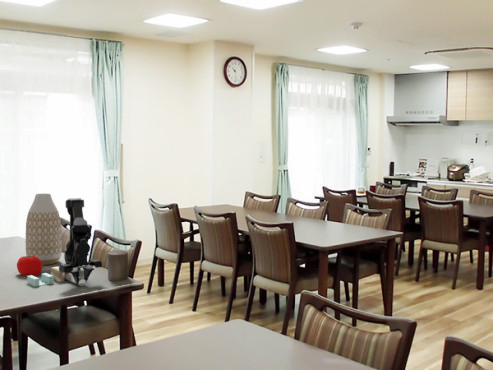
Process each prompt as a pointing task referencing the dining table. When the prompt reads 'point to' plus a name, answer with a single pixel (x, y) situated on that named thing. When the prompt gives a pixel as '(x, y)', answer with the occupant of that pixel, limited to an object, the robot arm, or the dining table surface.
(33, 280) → the cradle
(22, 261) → the tomato
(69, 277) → the axle
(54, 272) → the open beige box
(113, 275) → the pillar candle
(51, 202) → the vase
